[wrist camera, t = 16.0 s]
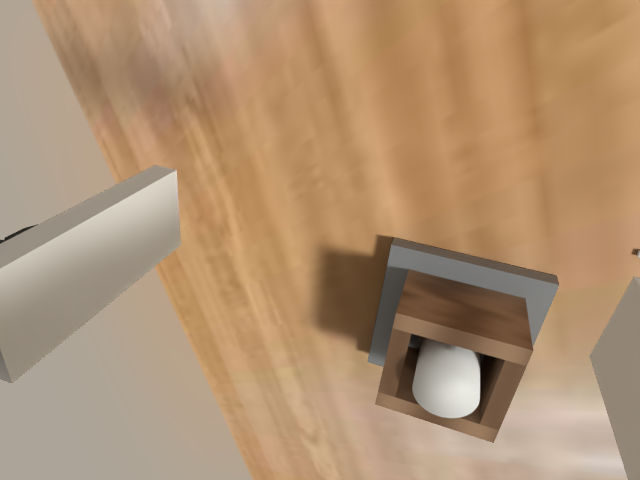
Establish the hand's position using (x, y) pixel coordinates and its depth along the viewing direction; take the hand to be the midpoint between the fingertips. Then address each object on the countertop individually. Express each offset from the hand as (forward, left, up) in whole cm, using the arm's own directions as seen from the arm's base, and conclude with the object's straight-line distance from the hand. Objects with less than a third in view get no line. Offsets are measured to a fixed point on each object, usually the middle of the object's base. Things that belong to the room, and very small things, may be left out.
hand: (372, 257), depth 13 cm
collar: (+5, -19, -24) cm, 31 cm away
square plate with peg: (+5, -19, -26) cm, 32 cm away
